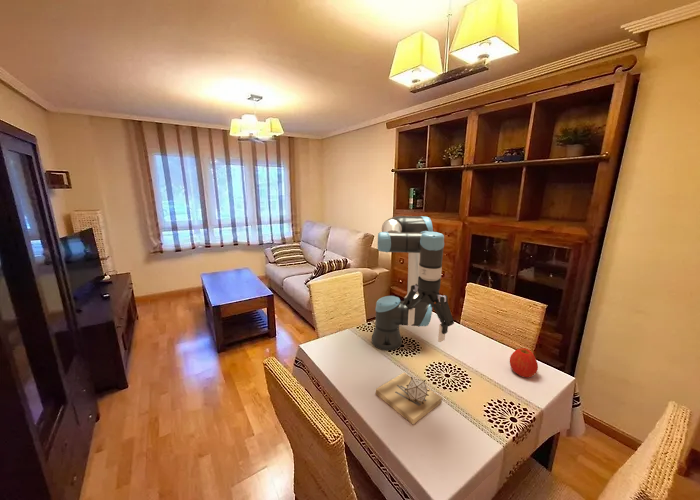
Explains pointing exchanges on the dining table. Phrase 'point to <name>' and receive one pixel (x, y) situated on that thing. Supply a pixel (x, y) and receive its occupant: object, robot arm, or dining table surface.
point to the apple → (523, 362)
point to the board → (407, 399)
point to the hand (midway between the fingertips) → (425, 332)
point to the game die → (417, 390)
